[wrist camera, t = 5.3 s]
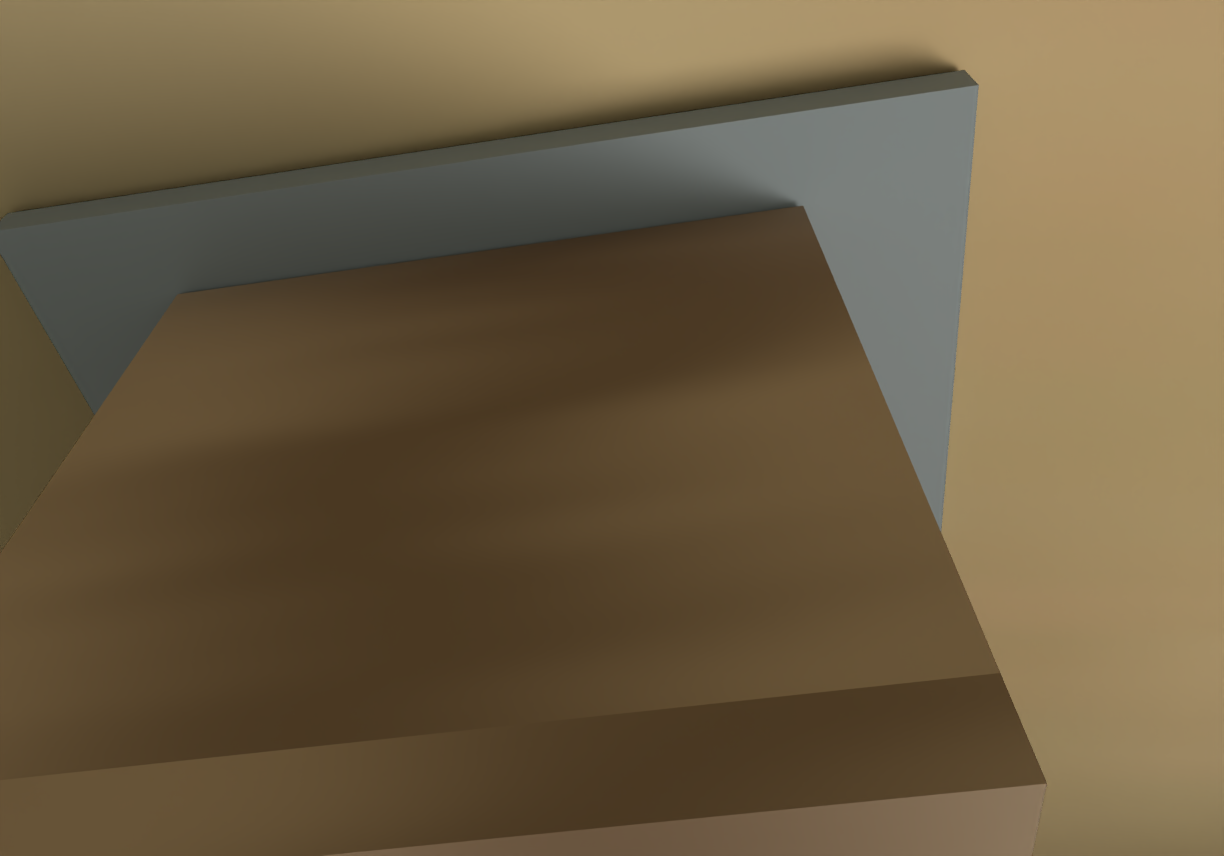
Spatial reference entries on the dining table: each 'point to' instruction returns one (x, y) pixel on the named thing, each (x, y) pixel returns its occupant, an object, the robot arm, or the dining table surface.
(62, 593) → the walnut cover
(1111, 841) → the dining table surface
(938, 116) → the mat
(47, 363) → the dining table surface
